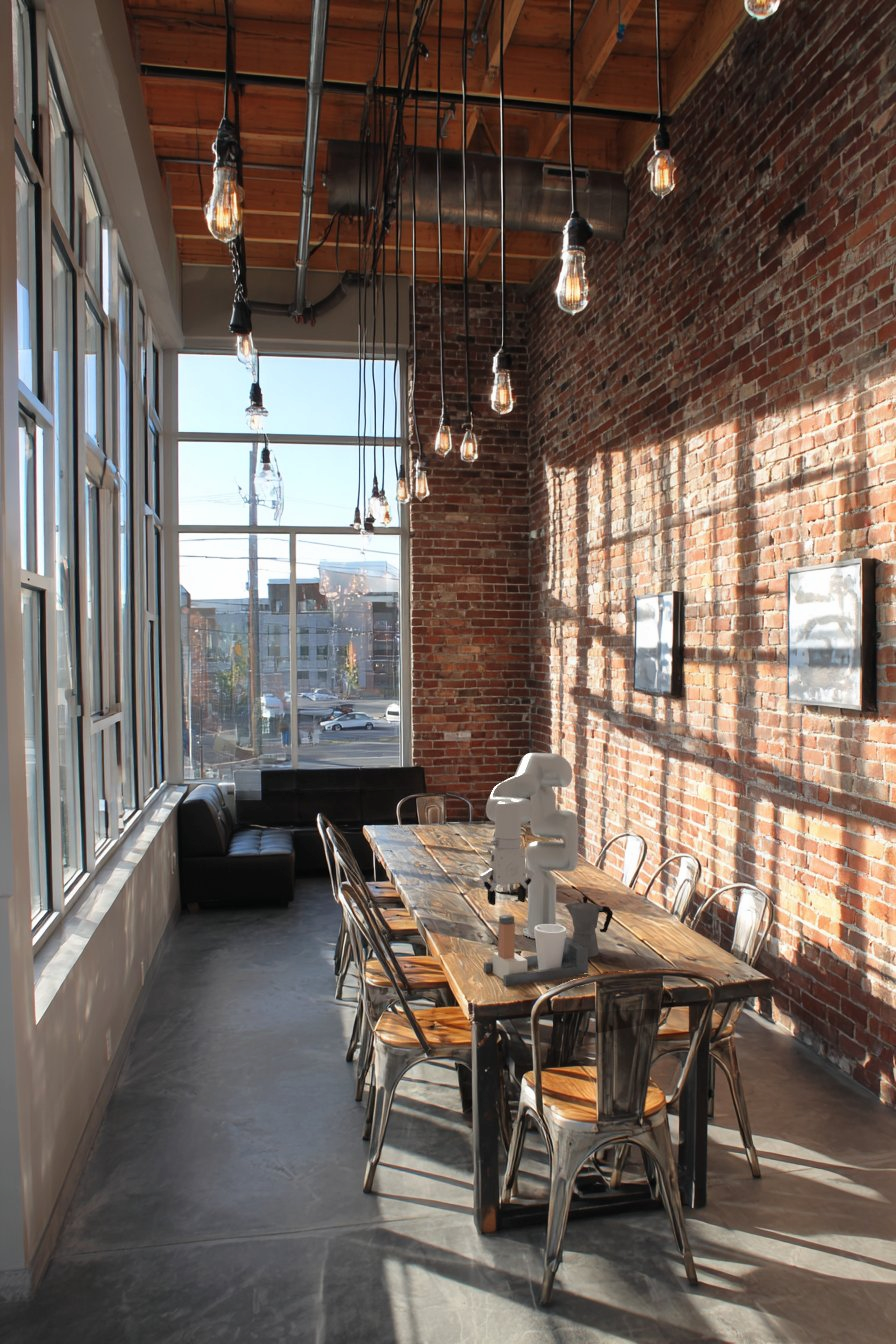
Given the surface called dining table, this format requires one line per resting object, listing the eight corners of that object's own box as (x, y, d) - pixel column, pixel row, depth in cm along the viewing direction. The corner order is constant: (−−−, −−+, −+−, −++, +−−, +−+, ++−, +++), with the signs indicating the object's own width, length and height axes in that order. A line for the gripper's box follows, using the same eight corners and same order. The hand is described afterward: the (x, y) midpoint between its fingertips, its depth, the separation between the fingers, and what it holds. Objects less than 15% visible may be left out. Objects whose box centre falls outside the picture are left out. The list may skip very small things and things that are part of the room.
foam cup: (563, 967, 286) (563, 924, 286) (568, 977, 277) (568, 932, 277) (531, 966, 286) (532, 924, 286) (535, 977, 276) (536, 932, 276)
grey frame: (483, 972, 280) (483, 945, 280) (564, 961, 292) (565, 935, 292) (505, 987, 267) (506, 959, 267) (589, 975, 279) (590, 948, 279)
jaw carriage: (491, 973, 279) (492, 913, 279) (510, 970, 281) (511, 911, 281) (507, 983, 270) (508, 922, 270) (527, 980, 272) (527, 919, 272)
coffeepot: (560, 954, 298) (561, 897, 298) (567, 946, 307) (568, 891, 307) (609, 961, 293) (609, 902, 293) (615, 952, 301) (615, 896, 301)
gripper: (486, 847, 268) (485, 908, 268) (540, 844, 275) (538, 903, 275) (475, 843, 275) (474, 902, 274) (527, 840, 282) (526, 897, 282)
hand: (506, 902), depth 275 cm, fingers open, 9 cm apart
